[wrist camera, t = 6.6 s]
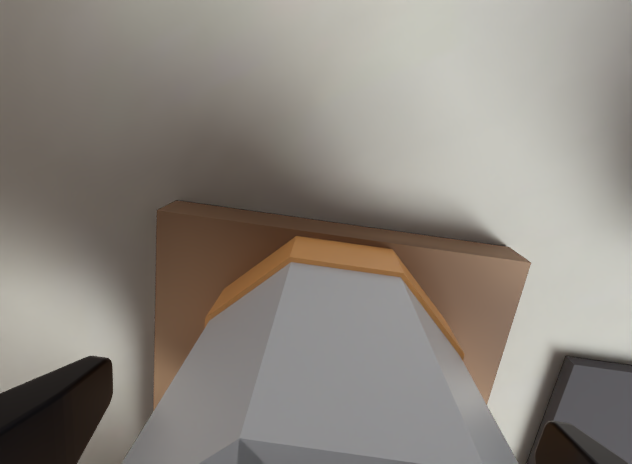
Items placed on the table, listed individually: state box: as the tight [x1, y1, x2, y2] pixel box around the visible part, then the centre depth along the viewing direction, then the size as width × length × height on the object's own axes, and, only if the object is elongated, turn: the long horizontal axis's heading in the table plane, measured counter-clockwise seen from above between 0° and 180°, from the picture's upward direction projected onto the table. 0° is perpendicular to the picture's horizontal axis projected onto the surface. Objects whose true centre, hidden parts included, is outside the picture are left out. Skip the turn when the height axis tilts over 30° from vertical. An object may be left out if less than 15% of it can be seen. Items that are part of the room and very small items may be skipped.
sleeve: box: [121, 236, 519, 464], centre depth 7 cm, size 6×6×6 cm
